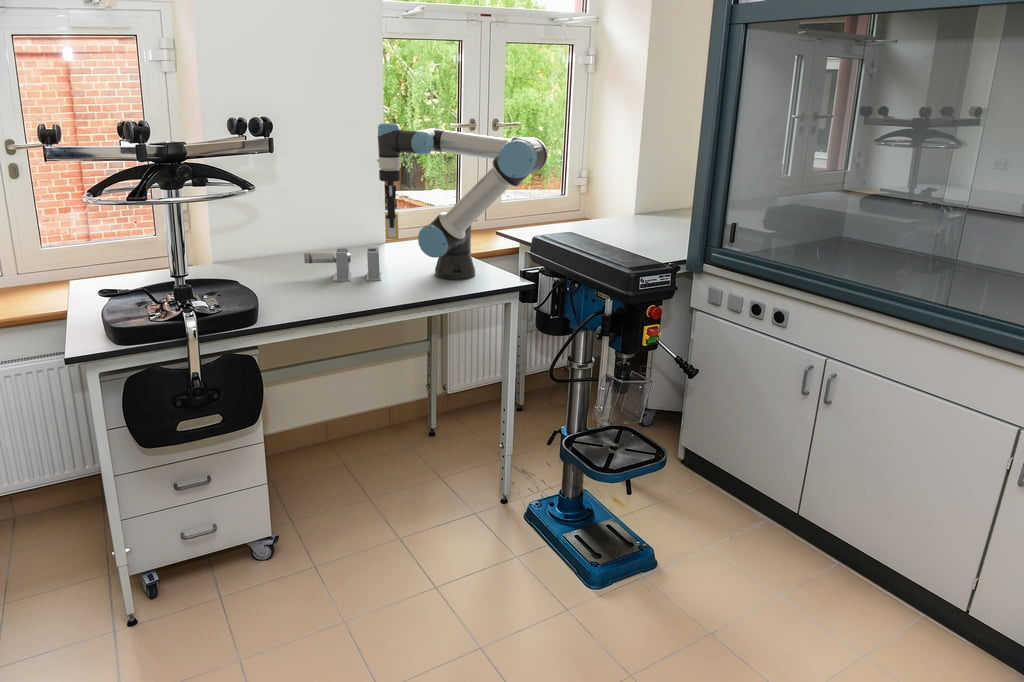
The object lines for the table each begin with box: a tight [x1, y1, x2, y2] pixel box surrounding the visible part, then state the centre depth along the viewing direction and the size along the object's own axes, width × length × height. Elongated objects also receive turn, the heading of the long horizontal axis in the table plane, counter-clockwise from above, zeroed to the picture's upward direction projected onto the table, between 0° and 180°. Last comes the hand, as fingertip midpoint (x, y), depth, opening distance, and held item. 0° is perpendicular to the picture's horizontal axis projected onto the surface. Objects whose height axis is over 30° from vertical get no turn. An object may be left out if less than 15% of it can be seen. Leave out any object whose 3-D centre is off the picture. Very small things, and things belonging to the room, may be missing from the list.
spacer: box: [384, 211, 400, 240], centre depth 265 cm, size 4×4×9 cm
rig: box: [332, 246, 382, 283], centre depth 268 cm, size 17×10×10 cm, turn 99°
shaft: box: [303, 252, 352, 264], centre depth 266 cm, size 16×4×4 cm, turn 99°
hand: (391, 234), depth 266 cm, fingers closed on spacer, 4 cm apart
